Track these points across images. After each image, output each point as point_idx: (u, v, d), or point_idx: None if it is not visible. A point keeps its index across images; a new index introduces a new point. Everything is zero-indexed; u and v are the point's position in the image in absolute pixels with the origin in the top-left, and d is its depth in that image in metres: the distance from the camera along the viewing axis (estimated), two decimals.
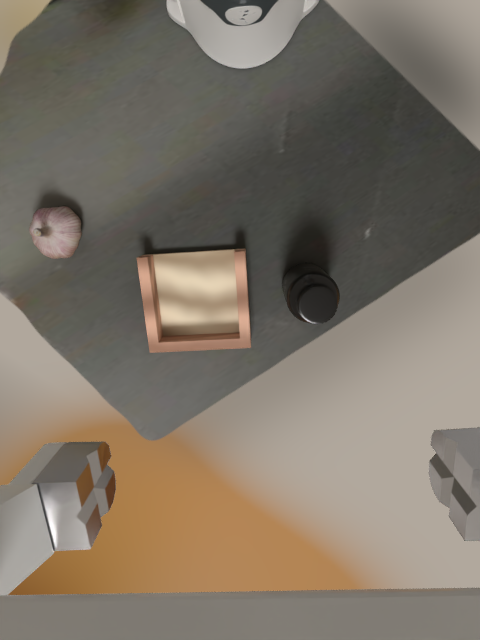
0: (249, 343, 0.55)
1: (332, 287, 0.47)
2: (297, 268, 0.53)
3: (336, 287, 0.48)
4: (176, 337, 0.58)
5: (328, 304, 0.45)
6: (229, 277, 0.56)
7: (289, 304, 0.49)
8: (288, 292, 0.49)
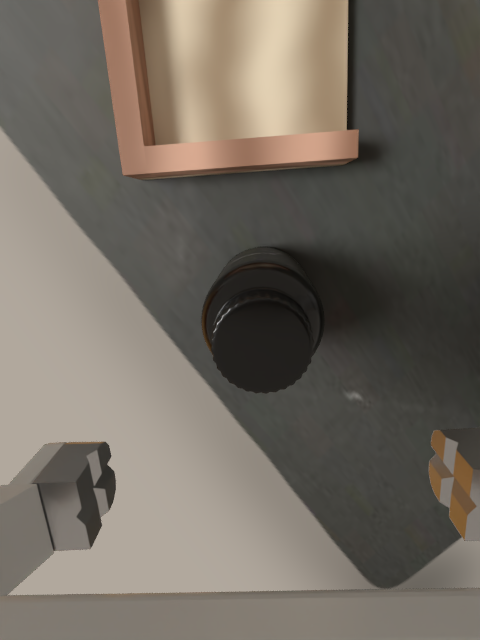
0: (133, 171, 0.23)
1: None
2: None
3: None
4: None
5: (264, 372, 0.18)
6: (284, 124, 0.25)
7: (247, 268, 0.20)
8: (277, 265, 0.20)
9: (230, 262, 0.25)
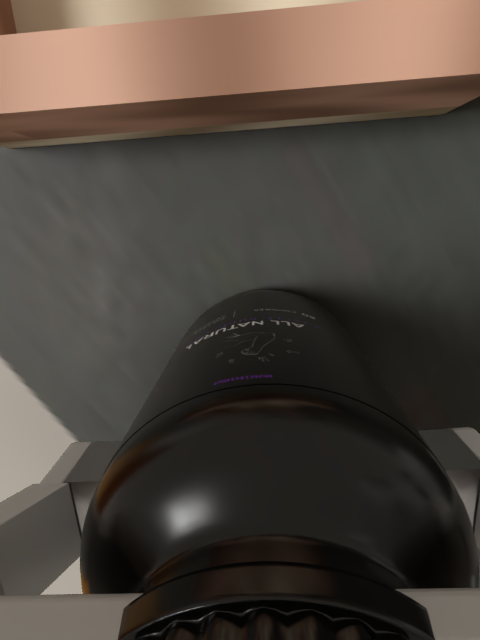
0: None
1: None
2: None
3: None
4: None
5: None
6: None
7: (220, 426, 0.05)
8: (329, 411, 0.06)
9: (193, 336, 0.10)
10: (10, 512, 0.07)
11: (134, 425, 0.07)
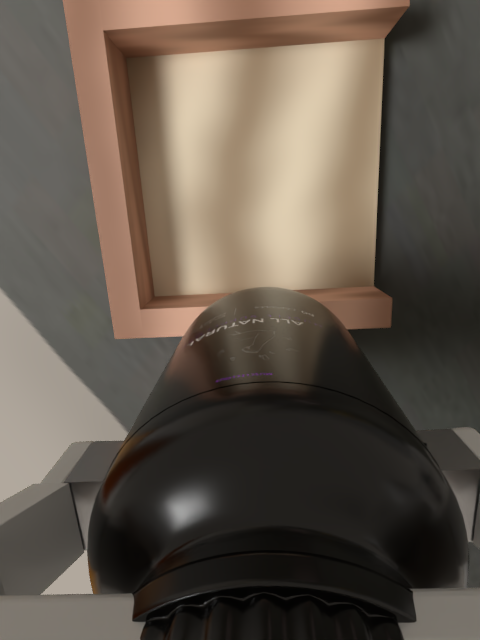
0: (127, 335, 0.20)
1: None
2: None
3: None
4: (126, 104, 0.18)
5: None
6: (302, 270, 0.21)
7: (223, 422, 0.06)
8: (327, 408, 0.06)
9: (194, 333, 0.11)
10: (10, 512, 0.07)
11: (139, 420, 0.07)
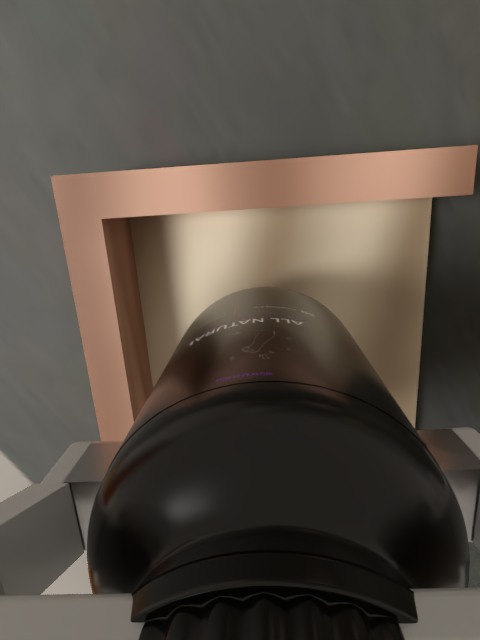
0: None
1: None
2: None
3: None
4: (129, 274, 0.16)
5: None
6: None
7: (223, 421, 0.06)
8: (327, 408, 0.06)
9: (194, 333, 0.11)
10: (10, 512, 0.07)
11: (138, 420, 0.07)
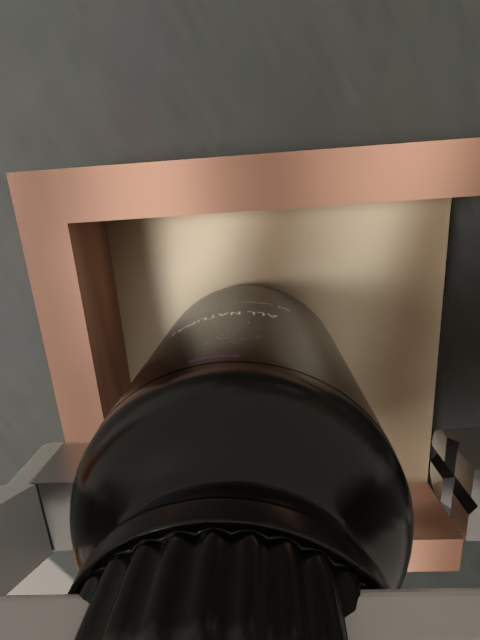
0: None
1: None
2: None
3: None
4: (105, 286, 0.14)
5: None
6: None
7: (191, 393, 0.06)
8: (284, 384, 0.06)
9: (178, 325, 0.11)
10: None
11: (119, 399, 0.08)
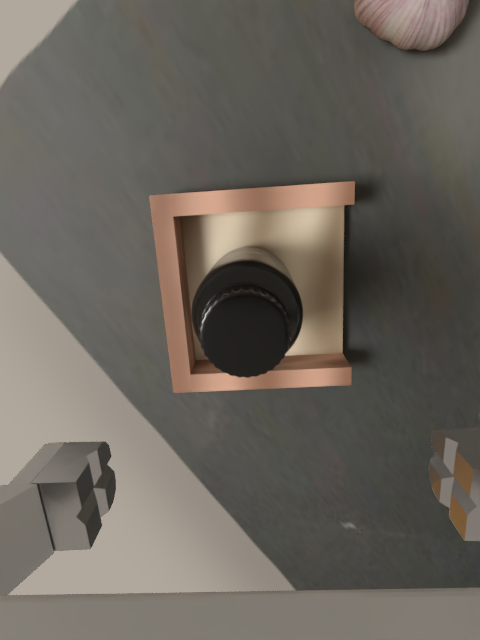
0: (181, 390, 0.30)
1: None
2: None
3: None
4: (181, 246, 0.29)
5: (246, 358, 0.20)
6: (294, 343, 0.32)
7: (233, 265, 0.22)
8: (260, 263, 0.22)
9: (219, 260, 0.27)
10: None
11: (206, 275, 0.23)
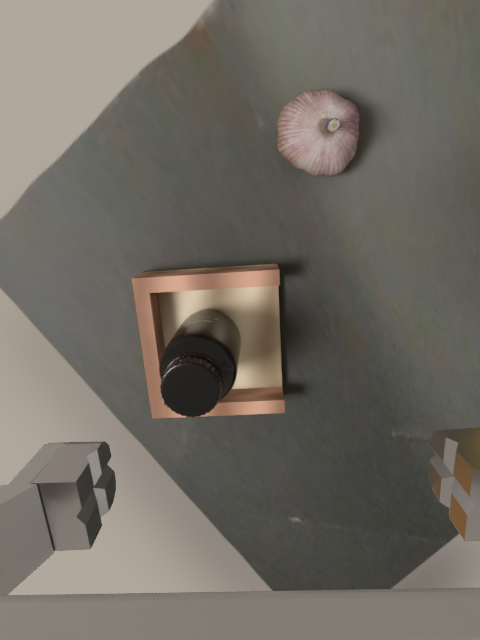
0: (158, 416, 0.40)
1: None
2: (236, 336, 0.37)
3: None
4: (157, 310, 0.39)
5: (192, 405, 0.30)
6: (245, 379, 0.42)
7: (186, 338, 0.32)
8: (205, 336, 0.32)
9: (183, 324, 0.37)
10: None
11: (169, 342, 0.33)
